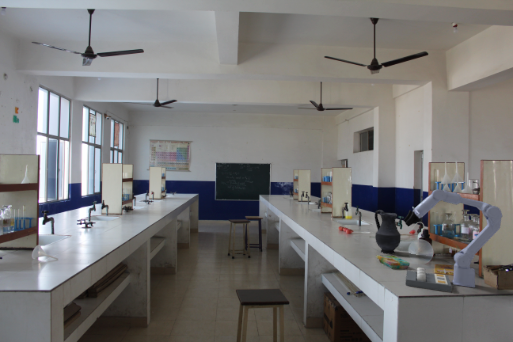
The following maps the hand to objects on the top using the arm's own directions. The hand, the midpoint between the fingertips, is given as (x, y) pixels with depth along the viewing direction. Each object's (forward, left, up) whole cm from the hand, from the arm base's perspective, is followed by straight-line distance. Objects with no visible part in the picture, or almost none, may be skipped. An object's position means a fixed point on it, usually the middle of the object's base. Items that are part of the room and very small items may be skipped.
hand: (405, 223), depth 192 cm
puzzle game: (+8, -27, -30) cm, 41 cm away
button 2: (-8, +13, -27) cm, 31 cm away
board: (-11, +6, -29) cm, 32 cm away
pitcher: (+15, -67, -29) cm, 74 cm away
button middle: (-8, +6, -27) cm, 29 cm away
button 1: (-8, 0, -27) cm, 28 cm away
